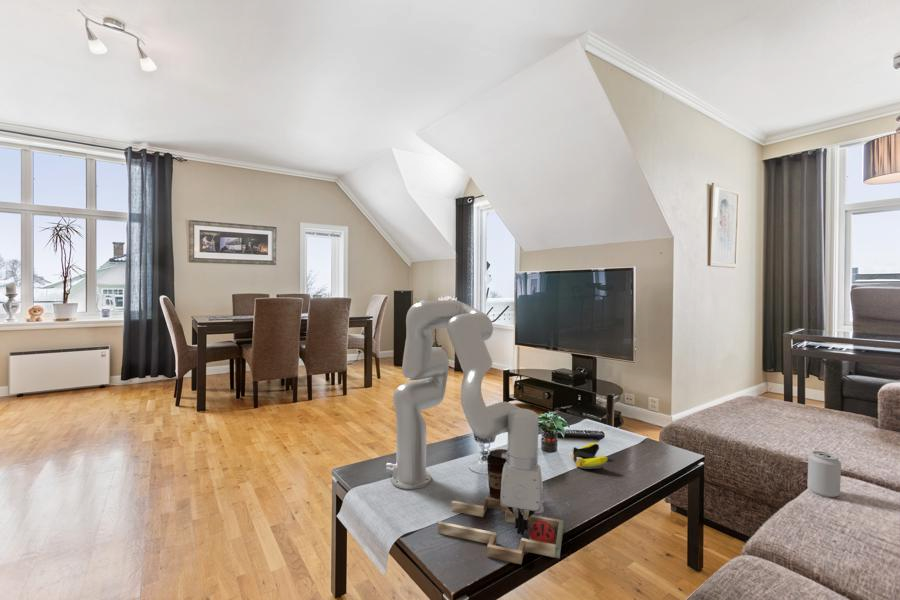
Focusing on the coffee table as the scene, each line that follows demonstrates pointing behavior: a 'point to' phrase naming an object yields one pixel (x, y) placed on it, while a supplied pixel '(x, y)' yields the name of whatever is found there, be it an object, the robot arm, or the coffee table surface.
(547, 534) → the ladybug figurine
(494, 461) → the coffee cup
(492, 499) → the trap channel
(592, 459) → the banana bunch
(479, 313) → the robot arm
